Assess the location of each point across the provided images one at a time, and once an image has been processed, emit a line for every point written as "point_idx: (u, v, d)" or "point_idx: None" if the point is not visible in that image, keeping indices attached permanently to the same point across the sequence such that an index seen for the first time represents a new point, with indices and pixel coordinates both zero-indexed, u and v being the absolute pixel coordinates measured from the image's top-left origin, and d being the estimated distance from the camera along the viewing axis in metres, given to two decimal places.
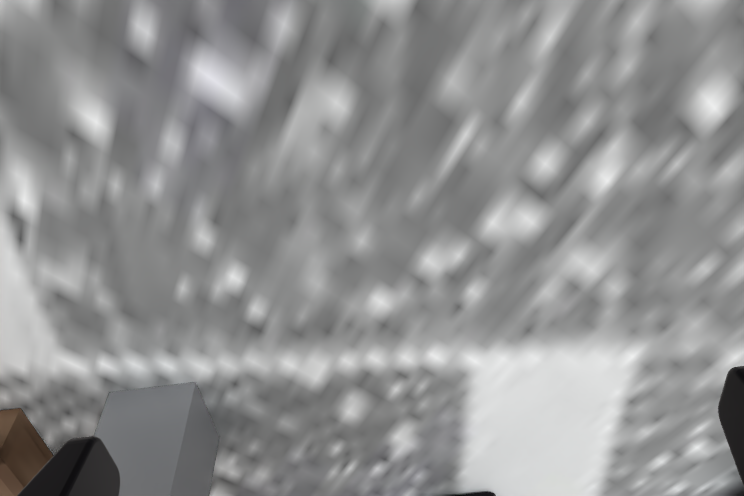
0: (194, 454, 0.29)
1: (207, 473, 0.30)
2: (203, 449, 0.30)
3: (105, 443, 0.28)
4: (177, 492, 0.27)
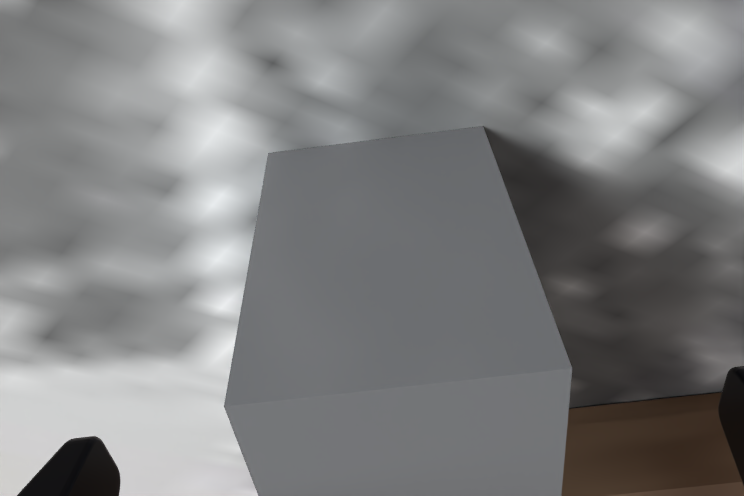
0: (348, 231, 0.10)
1: (466, 205, 0.10)
2: (402, 190, 0.11)
3: None
4: (280, 350, 0.08)
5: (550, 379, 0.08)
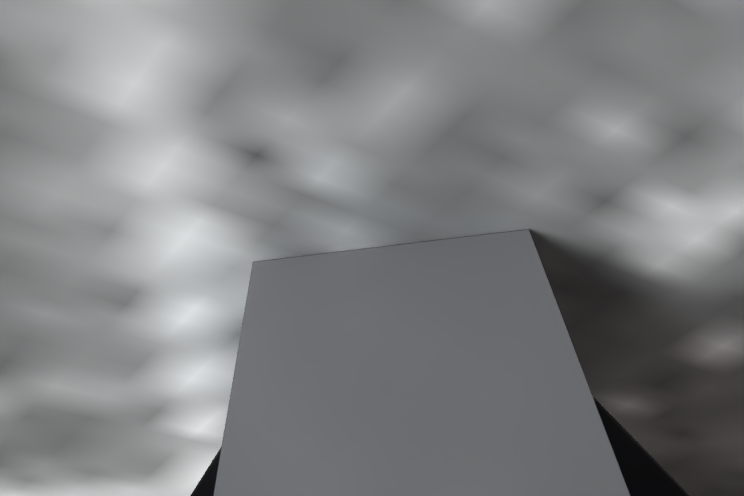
0: (357, 404, 0.07)
1: (518, 365, 0.08)
2: (429, 335, 0.08)
3: None
4: None
5: None
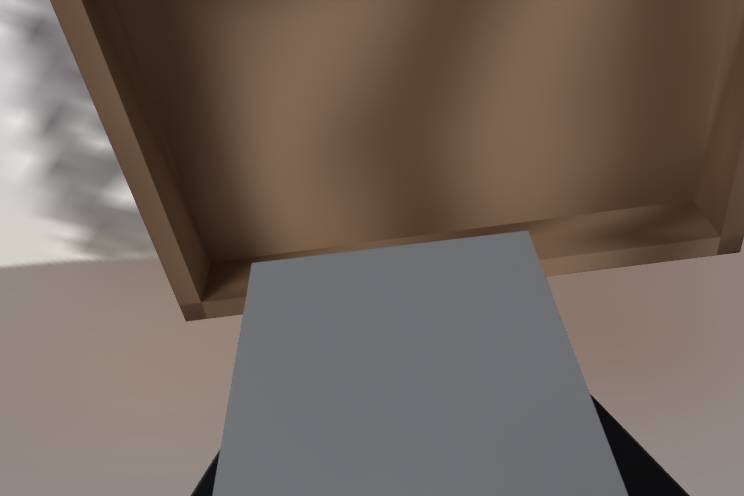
0: (355, 405, 0.07)
1: (516, 366, 0.08)
2: (428, 336, 0.08)
3: None
4: None
5: None
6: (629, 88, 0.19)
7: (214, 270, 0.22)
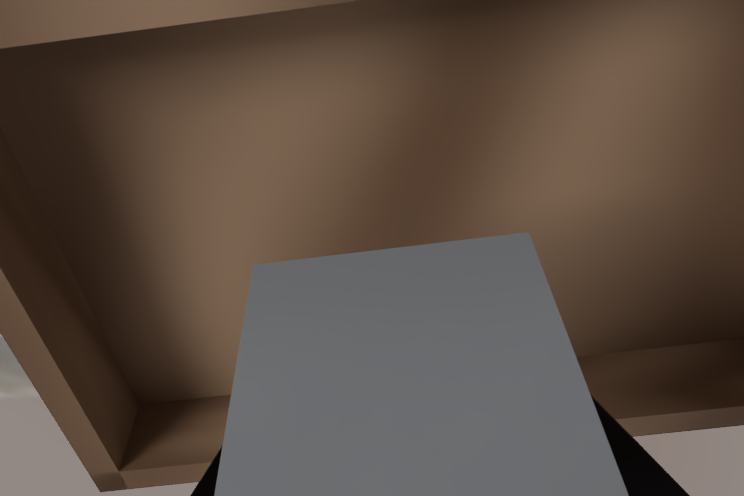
0: (357, 407, 0.07)
1: (517, 368, 0.08)
2: (429, 338, 0.08)
3: None
4: None
5: None
6: (699, 203, 0.14)
7: (141, 418, 0.17)
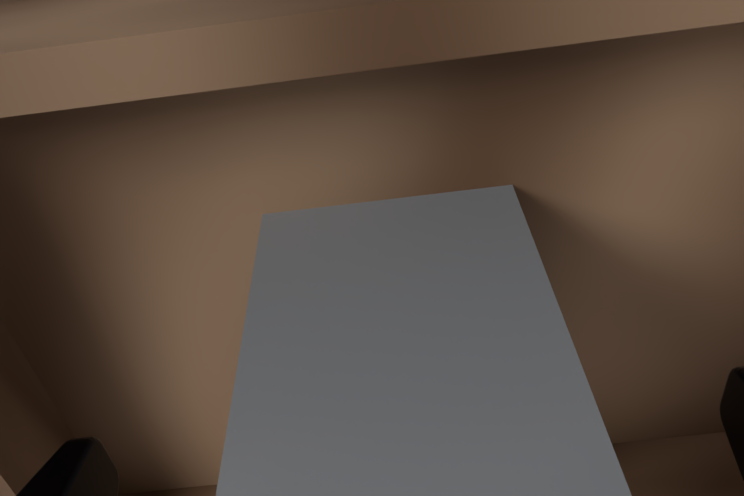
0: (356, 327, 0.09)
1: (499, 293, 0.09)
2: (421, 271, 0.09)
3: None
4: None
5: None
6: None
7: None
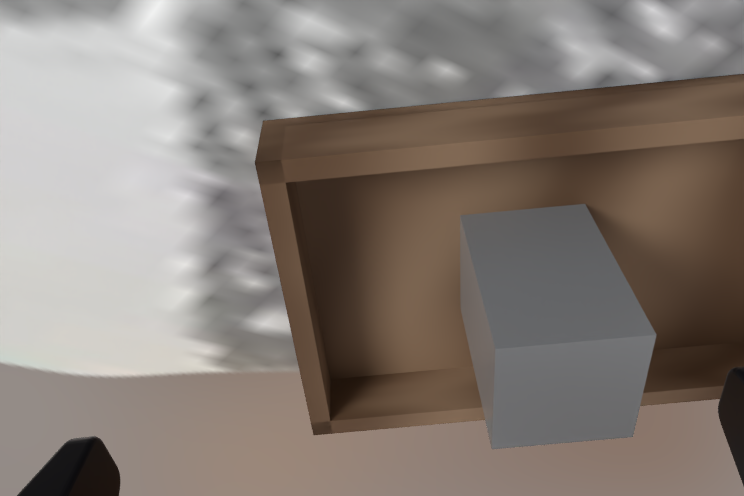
0: (525, 265, 0.19)
1: (587, 253, 0.20)
2: (549, 242, 0.20)
3: (473, 354, 0.21)
4: (512, 325, 0.17)
5: (645, 339, 0.17)
6: (709, 257, 0.23)
7: (335, 388, 0.26)
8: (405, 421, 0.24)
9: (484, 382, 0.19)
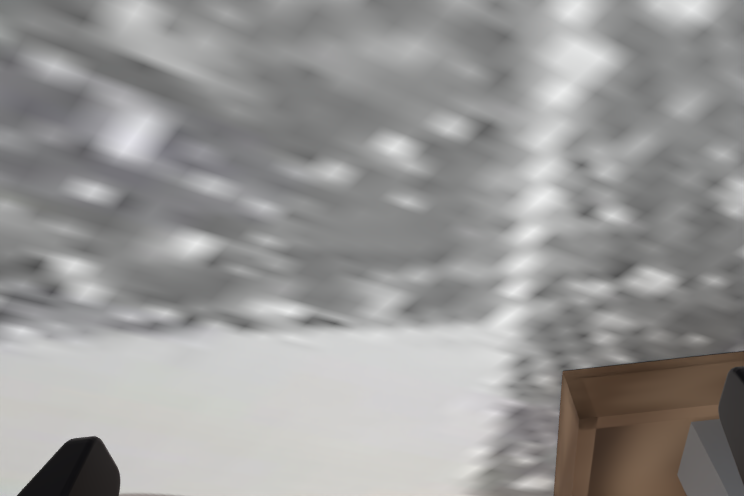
0: None
1: None
2: None
3: None
4: None
5: None
6: None
7: None
8: None
9: None
